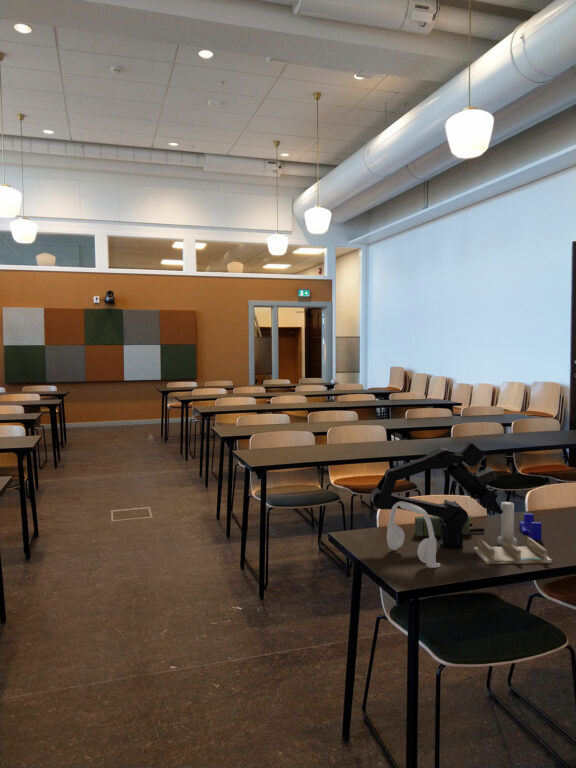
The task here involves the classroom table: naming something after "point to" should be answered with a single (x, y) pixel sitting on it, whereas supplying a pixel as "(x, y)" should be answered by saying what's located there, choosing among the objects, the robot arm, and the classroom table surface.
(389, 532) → the headset
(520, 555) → the slot rack
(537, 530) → the blue curved cradle
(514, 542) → the white bulb knob
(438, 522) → the handheld radio
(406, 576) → the classroom table surface
